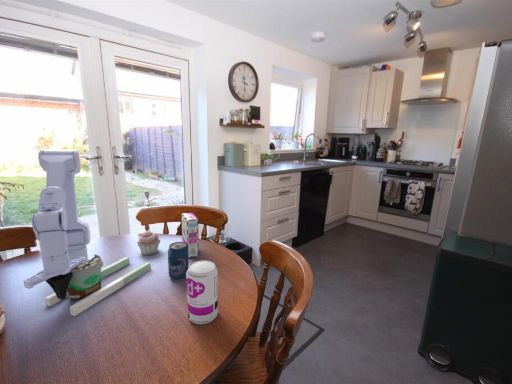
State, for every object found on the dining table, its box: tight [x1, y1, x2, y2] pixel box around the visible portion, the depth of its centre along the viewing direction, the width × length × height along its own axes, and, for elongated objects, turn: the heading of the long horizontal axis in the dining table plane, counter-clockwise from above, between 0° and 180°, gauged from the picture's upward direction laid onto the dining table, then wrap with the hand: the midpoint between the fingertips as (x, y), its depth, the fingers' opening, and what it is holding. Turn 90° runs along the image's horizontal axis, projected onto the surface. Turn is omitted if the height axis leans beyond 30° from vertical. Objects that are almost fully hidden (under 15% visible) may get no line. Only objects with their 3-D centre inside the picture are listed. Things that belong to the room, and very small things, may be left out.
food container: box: [67, 254, 104, 301], centre depth 79 cm, size 12×6×10 cm, turn 169°
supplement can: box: [186, 260, 219, 325], centre depth 69 cm, size 8×8×15 cm
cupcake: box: [136, 229, 162, 256], centre depth 107 cm, size 9×9×10 cm
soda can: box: [167, 241, 190, 282], centre depth 89 cm, size 7×7×12 cm
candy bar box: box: [181, 212, 200, 259], centre depth 108 cm, size 11×5×16 cm, turn 27°
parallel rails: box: [44, 256, 152, 317], centre depth 84 cm, size 12×28×2 cm, turn 159°
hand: (61, 297), depth 71 cm, fingers closed
